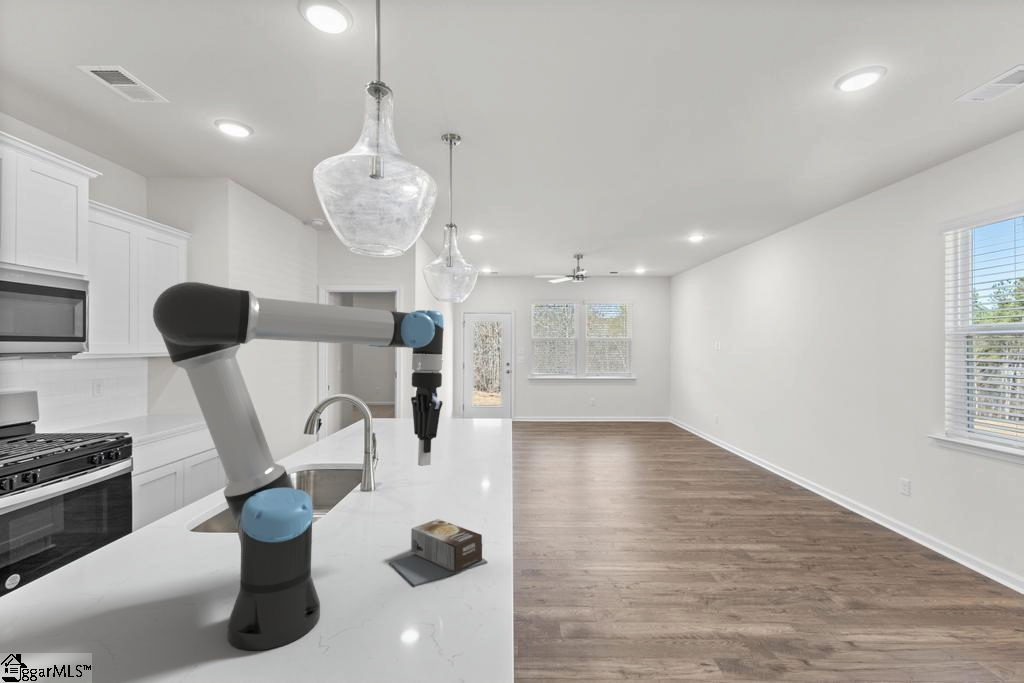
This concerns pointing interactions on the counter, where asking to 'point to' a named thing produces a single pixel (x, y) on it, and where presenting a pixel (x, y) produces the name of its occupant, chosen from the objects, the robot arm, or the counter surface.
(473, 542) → the coffee box
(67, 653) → the counter surface
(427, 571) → the mat
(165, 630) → the counter surface
